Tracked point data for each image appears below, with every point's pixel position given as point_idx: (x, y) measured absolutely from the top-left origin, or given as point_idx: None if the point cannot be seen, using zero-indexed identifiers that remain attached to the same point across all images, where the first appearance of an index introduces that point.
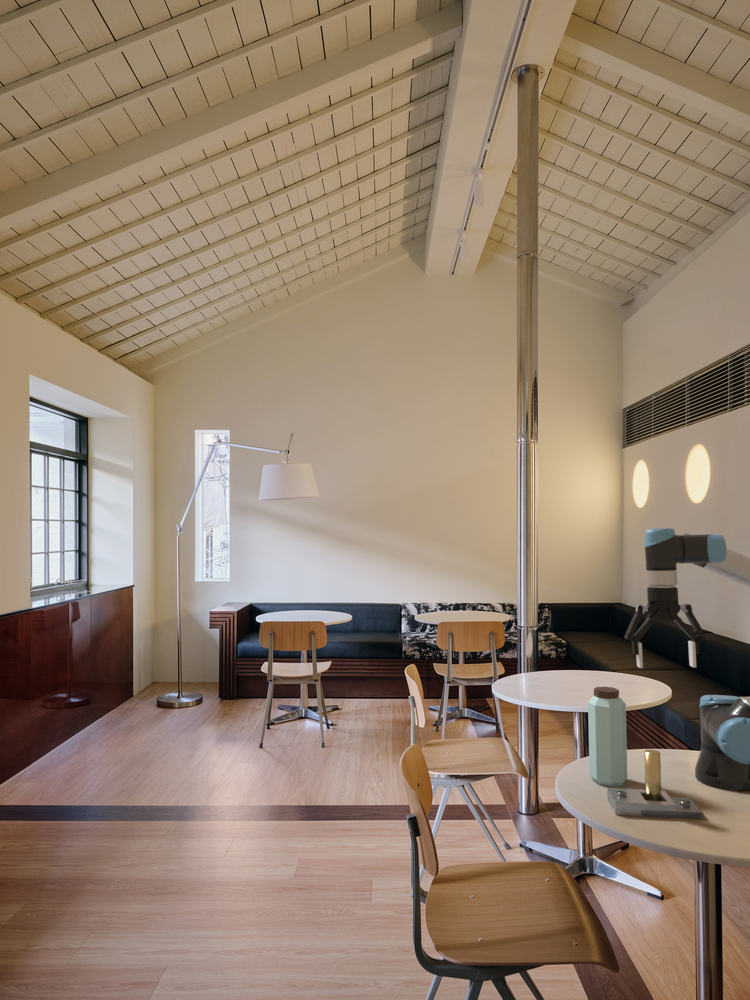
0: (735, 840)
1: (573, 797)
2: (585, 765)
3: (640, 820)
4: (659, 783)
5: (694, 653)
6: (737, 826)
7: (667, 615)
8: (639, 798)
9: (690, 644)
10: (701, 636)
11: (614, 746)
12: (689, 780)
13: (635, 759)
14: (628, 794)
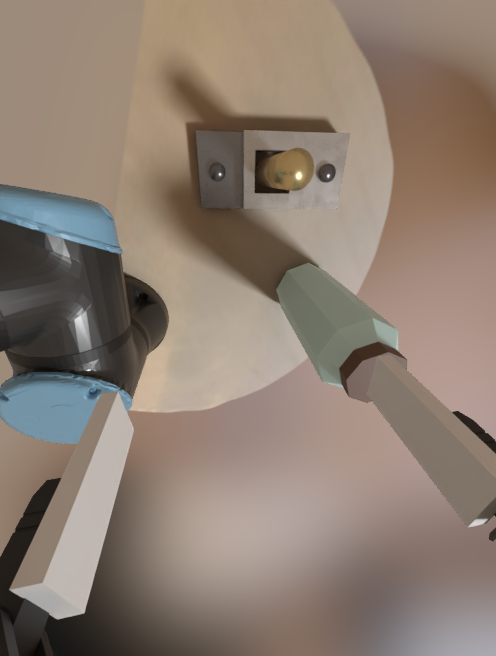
0: (155, 12)
1: (377, 210)
2: None
3: (306, 112)
4: (271, 157)
5: (74, 469)
6: (138, 100)
7: None
8: None
9: (74, 563)
10: None
11: (322, 285)
12: (180, 308)
13: (238, 370)
14: (312, 180)
